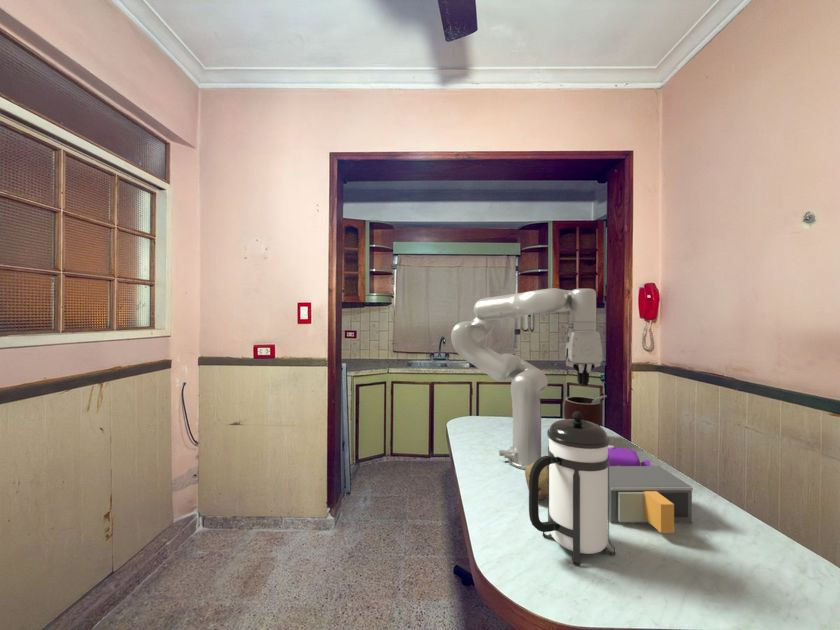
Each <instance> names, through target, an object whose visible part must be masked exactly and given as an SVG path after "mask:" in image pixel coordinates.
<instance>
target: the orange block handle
mask: <svg viewBox="0 0 840 630" xmlns="http://www.w3.org/2000/svg"><path fill="white" fill-rule="evenodd" d="M618 521H619V522H649V523H648V524H651V526H653V527H654V528H655V529H656V530H657V531H658V532H659V533H660V534H675V523H674V504H673V503H672V502H670V501H669V500H668V499H666V498H665V497H664V496H662V495H661V494H660V493H658V492H657V491H644V492H618Z"/></svg>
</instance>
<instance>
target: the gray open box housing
mask: <svg viewBox="0 0 840 630" xmlns="http://www.w3.org/2000/svg"><path fill="white" fill-rule="evenodd" d="M693 490H694V487H693V486H691V485H690V484H688V483H687V482H685V481H684V480H682V479H681V478H679V477H678V476H675V475H674V474H673V473H671V472H670V471H667V470H666V469H665V468H664V467H661V466H659V465H655V466H654V465H651V466H609V524H650V523H649V522H619V521H618V492H644V491H657V492H658V493H660V494H661V495H662V496H664V497H665V498H666V499H668V500H669V501H670V502H672V503H673V504H674V524H693Z"/></svg>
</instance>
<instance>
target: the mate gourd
mask: <svg viewBox="0 0 840 630" xmlns="http://www.w3.org/2000/svg"><path fill="white" fill-rule="evenodd" d="M604 398H607V394H606V395H602V396H601V395H600V396H598V397H596V398H593V397H588V396H581V395H578V396H576V395H575V396H573V395H572V396H567V397H565V402H564V407H563V415H564V419H573V417H572V415H573V413H574V412H576V411H578V412H581V413H582V415H583V419H582V420H584V421H589V422H592V423H595V424H597V425H599V426H600V427H602V426H601V425H602V422H603V420H602V419H603V409H602V403H601V400H602V399H604Z"/></svg>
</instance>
